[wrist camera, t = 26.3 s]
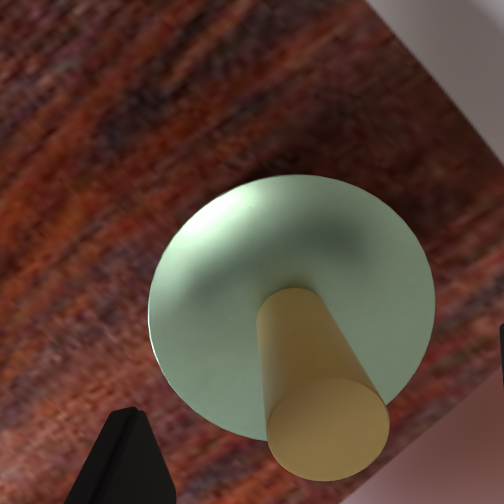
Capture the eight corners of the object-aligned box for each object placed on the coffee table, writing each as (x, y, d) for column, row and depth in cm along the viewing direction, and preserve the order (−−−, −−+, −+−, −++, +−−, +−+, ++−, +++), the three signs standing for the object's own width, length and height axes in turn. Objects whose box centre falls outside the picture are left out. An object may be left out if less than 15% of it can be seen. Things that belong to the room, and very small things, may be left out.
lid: (402, 140, 15) (565, 114, 7) (438, 393, 18) (579, 556, 10) (114, 215, 15) (-8, 263, 8) (197, 450, 18) (167, 646, 11)
